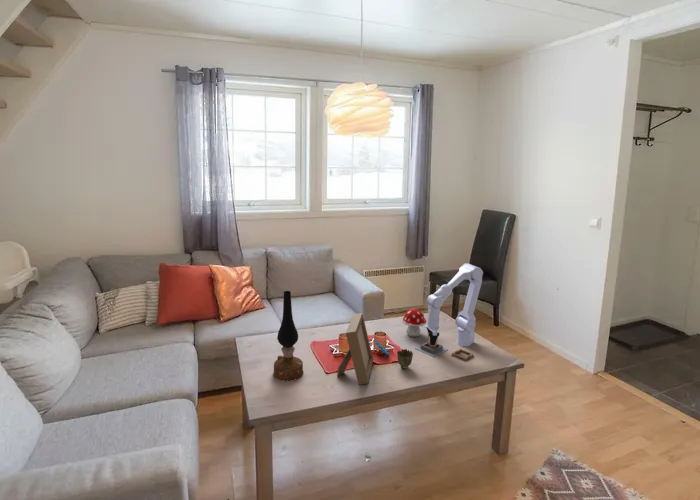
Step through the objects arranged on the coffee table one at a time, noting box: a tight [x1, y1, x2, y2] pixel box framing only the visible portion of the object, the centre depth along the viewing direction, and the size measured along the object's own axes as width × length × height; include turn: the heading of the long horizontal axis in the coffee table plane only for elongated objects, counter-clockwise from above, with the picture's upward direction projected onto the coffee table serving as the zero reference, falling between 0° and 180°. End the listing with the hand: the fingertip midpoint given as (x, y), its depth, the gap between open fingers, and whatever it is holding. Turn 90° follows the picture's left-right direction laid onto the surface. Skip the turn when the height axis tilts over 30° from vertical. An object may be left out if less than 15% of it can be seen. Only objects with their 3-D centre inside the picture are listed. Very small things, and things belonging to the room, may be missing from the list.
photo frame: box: [336, 312, 374, 385], centre depth 192 cm, size 15×22×25 cm
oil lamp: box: [272, 290, 304, 382], centre depth 187 cm, size 14×15×40 cm
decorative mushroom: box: [401, 308, 427, 338], centre depth 235 cm, size 14×14×15 cm
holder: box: [449, 348, 476, 363], centre depth 210 cm, size 9×9×2 cm
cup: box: [396, 348, 414, 370], centre depth 198 cm, size 7×7×8 cm
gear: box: [374, 339, 389, 356], centre depth 213 cm, size 11×6×10 cm
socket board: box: [414, 340, 449, 358], centre depth 216 cm, size 12×12×3 cm
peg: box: [427, 336, 439, 349], centre depth 215 cm, size 4×4×7 cm
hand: (431, 342), depth 216 cm, fingers closed on peg, 4 cm apart
